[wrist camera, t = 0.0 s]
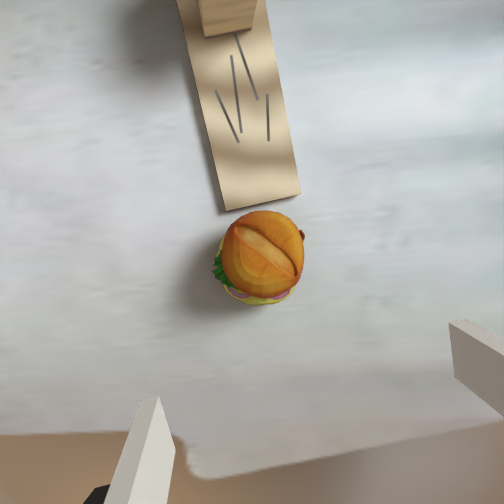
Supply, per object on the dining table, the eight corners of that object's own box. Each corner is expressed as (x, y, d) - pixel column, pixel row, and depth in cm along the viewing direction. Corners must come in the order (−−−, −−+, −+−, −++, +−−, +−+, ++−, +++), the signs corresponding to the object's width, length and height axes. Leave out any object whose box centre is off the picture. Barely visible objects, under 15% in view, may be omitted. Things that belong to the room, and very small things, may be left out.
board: (167, -37, 36) (166, -43, 35) (252, -54, 36) (253, -60, 35) (225, 210, 41) (226, 211, 40) (299, 193, 42) (301, 193, 41)
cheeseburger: (209, 300, 43) (207, 308, 33) (218, 214, 44) (219, 198, 34) (289, 307, 44) (311, 317, 34) (297, 223, 45) (320, 210, 35)
